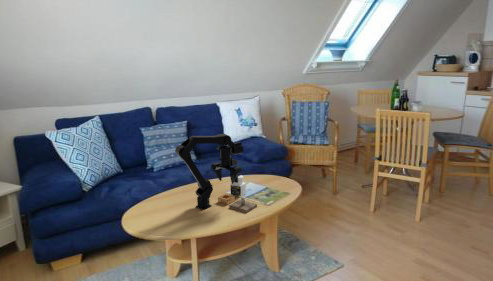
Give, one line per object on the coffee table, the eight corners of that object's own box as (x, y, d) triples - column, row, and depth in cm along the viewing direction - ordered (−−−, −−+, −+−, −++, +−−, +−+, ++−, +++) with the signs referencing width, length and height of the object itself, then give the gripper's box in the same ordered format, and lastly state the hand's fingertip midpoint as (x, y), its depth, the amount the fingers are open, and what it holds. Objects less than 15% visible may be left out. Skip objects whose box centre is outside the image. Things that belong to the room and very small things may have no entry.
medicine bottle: (230, 195, 209) (230, 176, 206) (236, 191, 215) (235, 173, 212) (240, 197, 206) (240, 178, 203) (246, 193, 212) (245, 174, 209)
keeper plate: (246, 212, 184) (246, 203, 183) (229, 207, 191) (228, 198, 189) (257, 206, 192) (256, 197, 190) (240, 201, 199) (239, 193, 197)
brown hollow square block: (227, 204, 195) (227, 200, 194) (217, 202, 199) (217, 197, 198) (234, 200, 200) (234, 196, 200) (225, 198, 204) (225, 193, 204)
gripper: (247, 155, 194) (247, 181, 198) (222, 150, 205) (223, 175, 209) (234, 159, 186) (235, 186, 189) (209, 155, 197) (211, 180, 200)
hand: (226, 182), depth 197 cm, fingers open, 9 cm apart
